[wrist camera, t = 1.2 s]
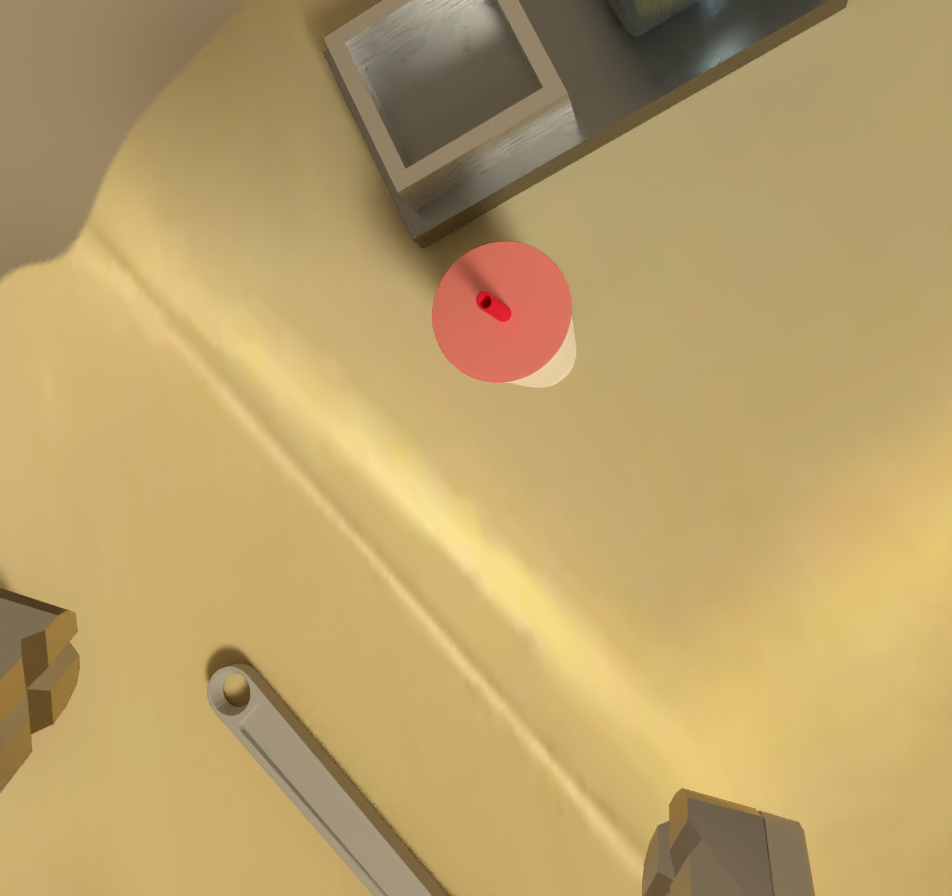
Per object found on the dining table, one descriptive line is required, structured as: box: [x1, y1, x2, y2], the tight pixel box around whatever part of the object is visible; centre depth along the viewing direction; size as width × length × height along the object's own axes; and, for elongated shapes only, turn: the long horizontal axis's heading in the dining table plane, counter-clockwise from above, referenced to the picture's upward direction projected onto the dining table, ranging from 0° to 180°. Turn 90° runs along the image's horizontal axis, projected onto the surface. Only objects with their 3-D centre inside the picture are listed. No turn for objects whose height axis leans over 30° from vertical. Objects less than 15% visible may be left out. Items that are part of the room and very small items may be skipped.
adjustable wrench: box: [207, 663, 448, 896], centre depth 40 cm, size 25×6×2 cm, turn 42°
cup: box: [432, 241, 577, 388], centre depth 35 cm, size 5×5×12 cm
